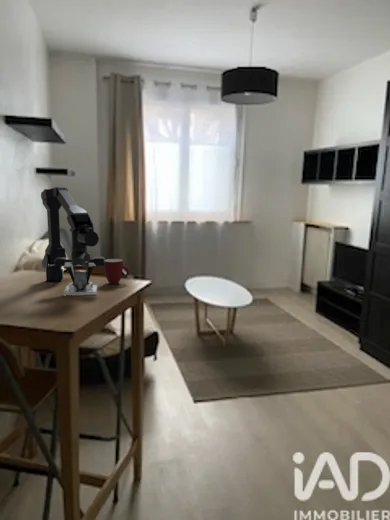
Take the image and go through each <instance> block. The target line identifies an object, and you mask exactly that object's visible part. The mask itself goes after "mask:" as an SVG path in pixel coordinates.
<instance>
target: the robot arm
mask: <svg viewBox="0 0 390 520" xmlns="http://www.w3.org/2000/svg"><path fill="white" fill-rule="evenodd" d="M40 197H41V201H42V206H43V207H44V208H45V209H46V215H47V217H46V218H47V235H48V244H47V246H46V248H45V249H44V253H45V254H44V256H43V258H42V261H41V266H42V268H45V277H46V279H45V283H46V282H47V283H48V282H49V283H51V282H54V283H56V282H62V281H63V280H64V269H66V270H67V272H68V274H69V276H70V279H71V280H72V282H73V283H74V271H75V270H74V267H77V266H82V267H83V266H86V264H88V266H87V283H88V282H90V278H91V274H92V272H93V269H95V268H97V267H102V266H103V267H104V265H105V260H106V259H105V257H104V256H94V257H93V258H91V256H92V255H91V252H90V251H89V252H88V247H95V246H96V245H98V243H99V241H100V240H99V239H100V238H99V235H98V233H97V232H95V230H94V229H95V227H94V223H93V221H92V220H91V217H90V215H89V213H88V212H87V211H86V210H85V209H84V208H83V207H81V206H79V205H77V202H76V201H75V200H74V199H73V197H72V196H71V194H70V193H69V190H68V188H67V187H65V186H55V187H53V188H50V189H49V188H44V189H43V191H41V193H40ZM61 207H62V208H63V209H64V211H65V213H66V214H67V215H66V220H67V223H68V225H69V226H70V229H69V231H70V232H71V235H70V236H71V257H70V258H67V255H66V248H65V247H63V246H62V243H61V229H60V228H61V224H60V209H61ZM62 267H63V268H62Z"/></svg>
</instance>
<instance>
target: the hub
mask: <svg viewBox="0 0 390 520" xmlns="http://www.w3.org/2000/svg"><path fill="white" fill-rule="evenodd" d="M97 292H98V284H93V282H92V281H89V282H88V283H87V285H85V287H82V288H78V287H76V285H74V283H73V281H72V282H69V283H68V285H66V287H65V289H64V290H63V296H64V297H67V296H66V295H70V296H71V295H72V296H95V295H97Z"/></svg>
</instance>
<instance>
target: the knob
mask: <svg viewBox="0 0 390 520" xmlns="http://www.w3.org/2000/svg"><path fill="white" fill-rule="evenodd" d="M73 271H74V285H76V287H78V288H82V287H85V285H87V275H88V269H77V270H73Z"/></svg>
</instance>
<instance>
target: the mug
mask: <svg viewBox="0 0 390 520" xmlns="http://www.w3.org/2000/svg"><path fill="white" fill-rule="evenodd" d="M124 269H125V270H126V274H125V275H123V270H124ZM103 270H104V274H105V278H106V280H107V282H108V284H110V283H111V284H110V285H117V283H118V284H119V283H120V281H121V279H122V278H123V279H124V278H126V277H128V276H129V274H130V270H129V268H128V266H126V265H124V259H120V258H107V259H105V265H104V266H103Z"/></svg>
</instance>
